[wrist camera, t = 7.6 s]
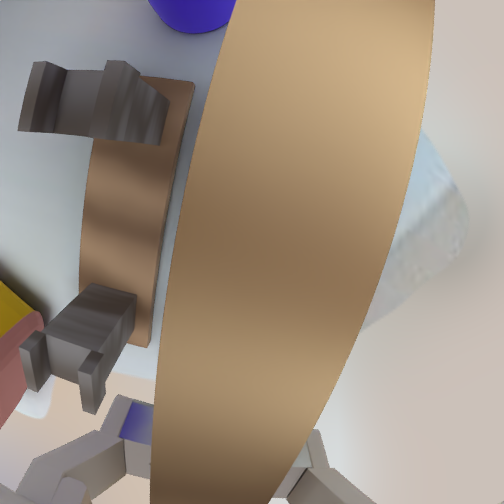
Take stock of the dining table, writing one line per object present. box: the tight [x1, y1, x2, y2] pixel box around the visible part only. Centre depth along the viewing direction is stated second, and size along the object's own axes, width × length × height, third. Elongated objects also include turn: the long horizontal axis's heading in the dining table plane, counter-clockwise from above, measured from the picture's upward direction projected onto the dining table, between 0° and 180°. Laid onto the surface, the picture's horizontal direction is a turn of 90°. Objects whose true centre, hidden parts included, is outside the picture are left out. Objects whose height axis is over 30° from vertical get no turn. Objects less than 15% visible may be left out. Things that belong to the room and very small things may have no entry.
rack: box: [18, 60, 195, 415], centre depth 21 cm, size 26×8×14 cm, turn 167°
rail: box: [150, 0, 435, 504], centre depth 7 cm, size 24×3×3 cm, turn 167°
